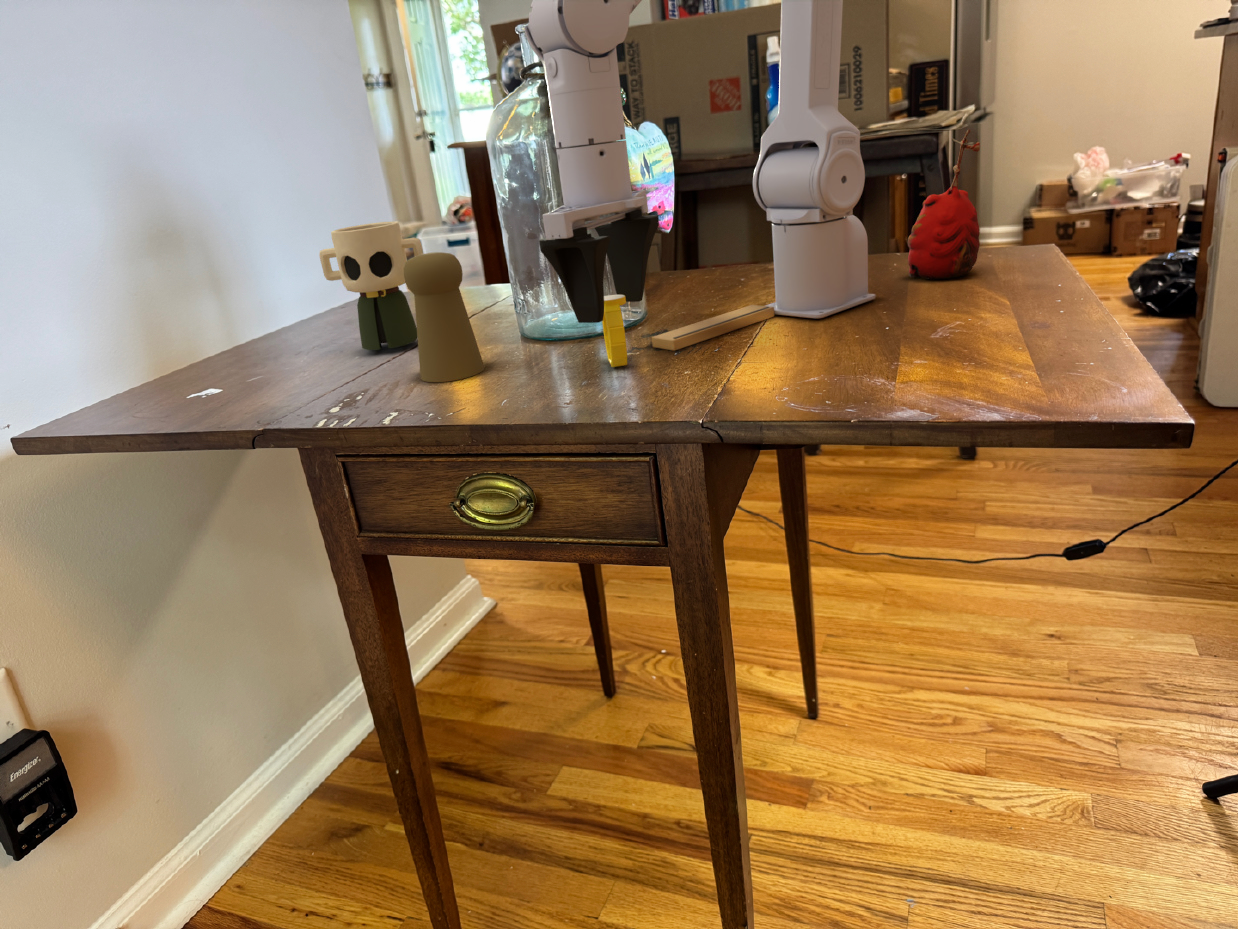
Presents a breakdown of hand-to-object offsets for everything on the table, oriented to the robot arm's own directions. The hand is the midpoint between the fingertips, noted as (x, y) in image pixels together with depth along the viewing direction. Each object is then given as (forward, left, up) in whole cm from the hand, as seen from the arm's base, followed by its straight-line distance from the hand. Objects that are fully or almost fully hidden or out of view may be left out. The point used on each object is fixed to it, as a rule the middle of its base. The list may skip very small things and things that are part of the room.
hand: (611, 311), depth 73 cm
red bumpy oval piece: (-41, +7, -5) cm, 42 cm away
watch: (0, 0, -5) cm, 5 cm away
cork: (+10, -13, -5) cm, 17 cm away
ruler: (-12, 0, -5) cm, 13 cm away
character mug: (+8, -30, -5) cm, 31 cm away
